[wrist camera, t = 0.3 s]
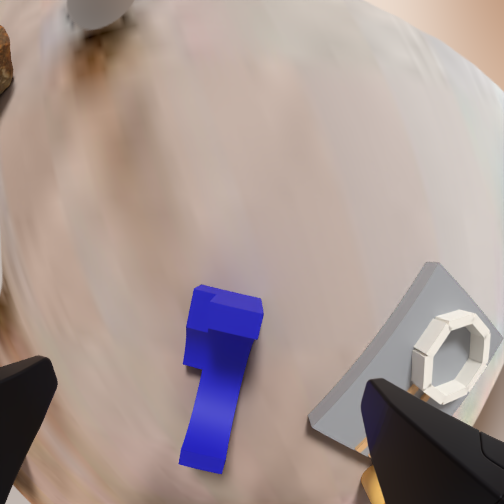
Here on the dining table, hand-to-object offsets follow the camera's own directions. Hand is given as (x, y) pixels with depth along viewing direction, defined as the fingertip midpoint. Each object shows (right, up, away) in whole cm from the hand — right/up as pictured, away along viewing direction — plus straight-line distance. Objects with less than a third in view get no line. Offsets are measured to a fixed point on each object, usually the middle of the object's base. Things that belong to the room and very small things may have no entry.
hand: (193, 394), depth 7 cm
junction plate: (+16, -7, +15) cm, 23 cm away
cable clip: (-1, -5, +15) cm, 16 cm away
